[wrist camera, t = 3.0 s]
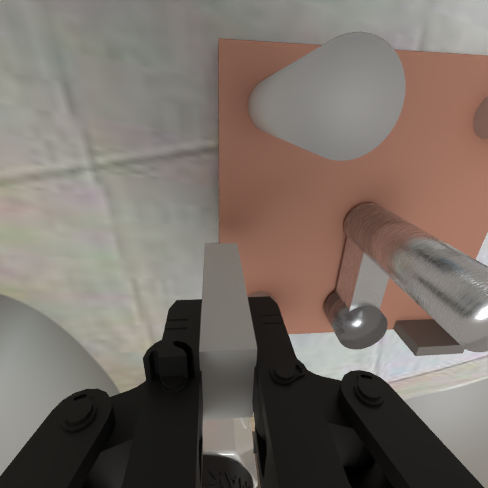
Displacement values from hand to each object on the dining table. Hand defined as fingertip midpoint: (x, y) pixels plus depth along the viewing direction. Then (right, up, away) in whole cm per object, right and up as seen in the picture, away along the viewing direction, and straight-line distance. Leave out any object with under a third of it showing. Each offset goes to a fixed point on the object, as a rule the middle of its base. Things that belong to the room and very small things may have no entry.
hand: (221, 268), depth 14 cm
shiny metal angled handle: (+9, -1, +7) cm, 12 cm away
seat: (+9, +4, +8) cm, 13 cm away
